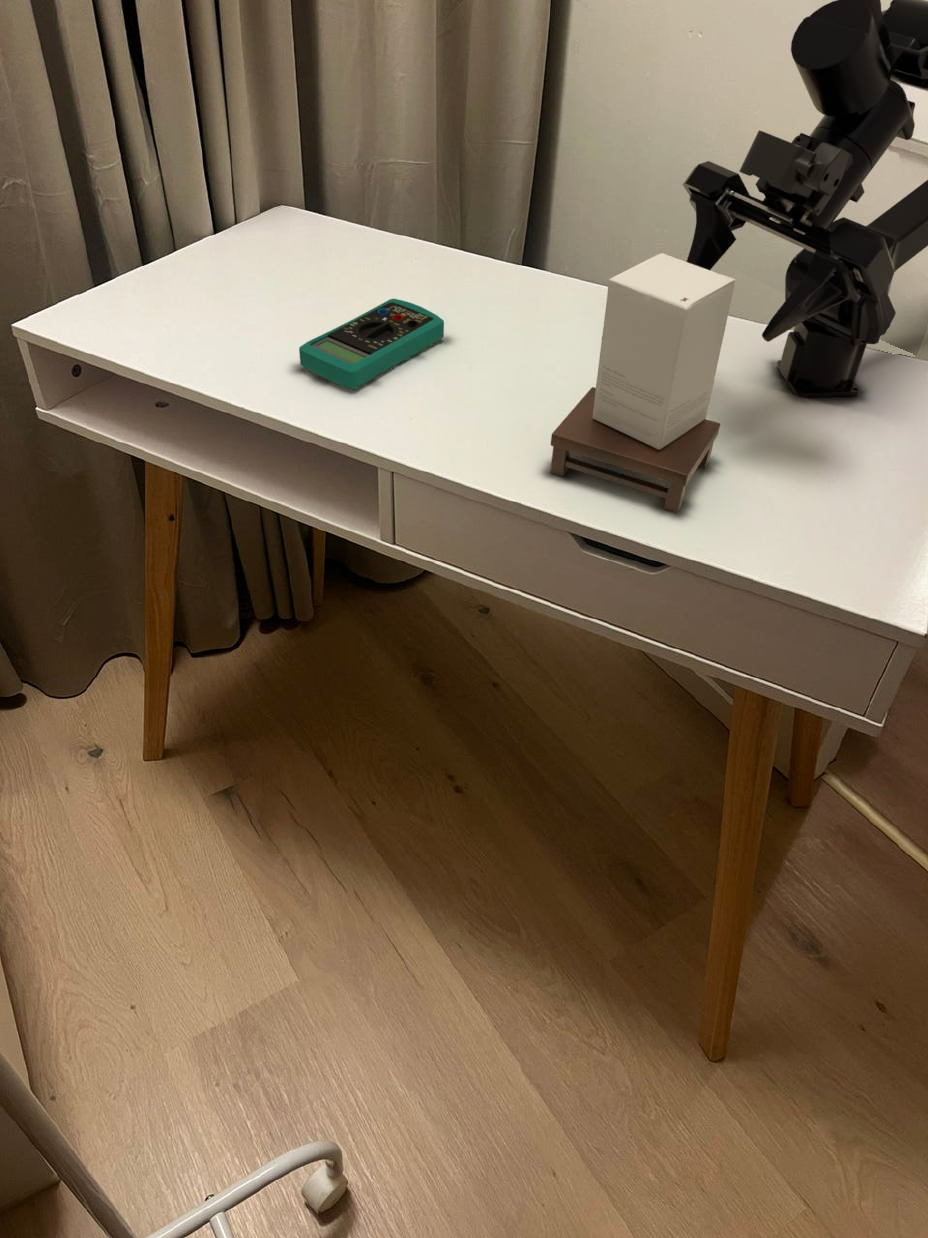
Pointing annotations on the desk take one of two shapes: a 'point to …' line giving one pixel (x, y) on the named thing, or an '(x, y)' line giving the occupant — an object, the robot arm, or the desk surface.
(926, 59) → the robot arm
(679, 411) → the white packaging box
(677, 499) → the small table
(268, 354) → the desk surface
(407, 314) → the digital multimeter
